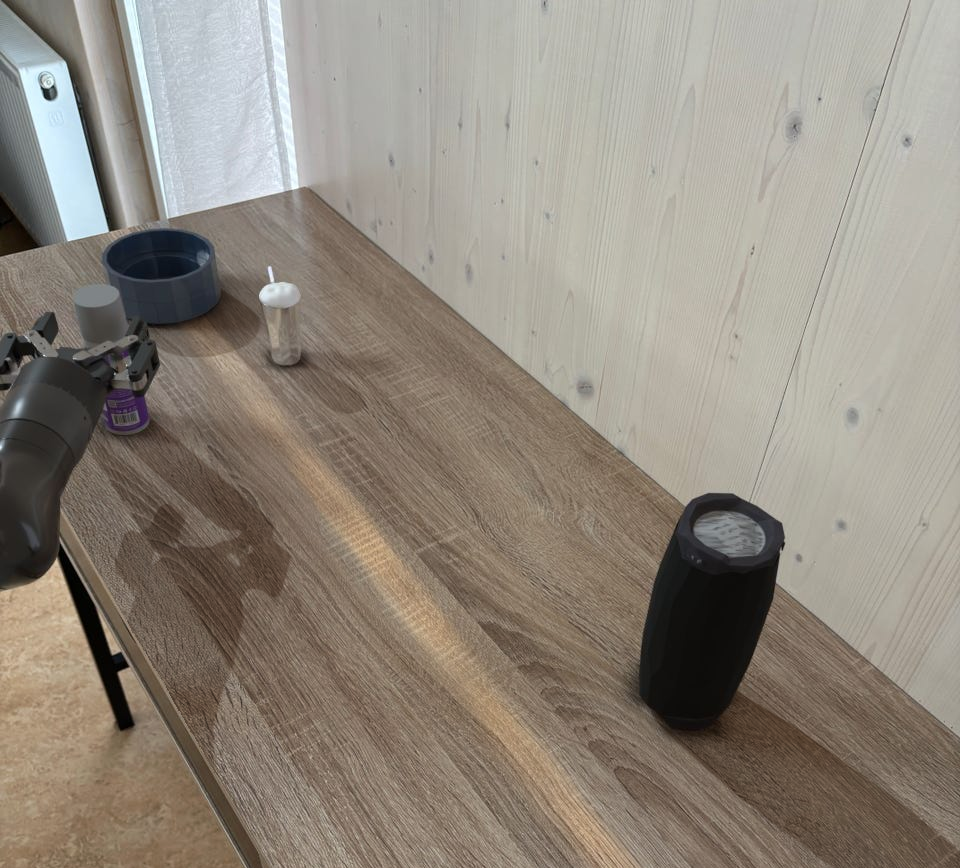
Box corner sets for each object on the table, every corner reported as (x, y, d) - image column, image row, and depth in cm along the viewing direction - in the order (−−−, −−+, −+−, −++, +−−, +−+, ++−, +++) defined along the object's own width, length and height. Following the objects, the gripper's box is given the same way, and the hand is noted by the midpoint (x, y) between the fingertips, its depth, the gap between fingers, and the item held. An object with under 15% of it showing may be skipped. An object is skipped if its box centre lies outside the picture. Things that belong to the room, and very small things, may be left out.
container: (158, 415, 114) (130, 288, 103) (135, 439, 111) (103, 312, 100) (120, 405, 115) (88, 279, 104) (96, 429, 112) (61, 301, 101)
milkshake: (296, 341, 125) (288, 262, 118) (311, 364, 122) (304, 285, 115) (259, 348, 124) (249, 269, 117) (274, 372, 121) (264, 293, 113)
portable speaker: (754, 698, 91) (818, 528, 76) (684, 755, 86) (738, 587, 72) (678, 641, 95) (726, 471, 80) (608, 693, 90) (645, 523, 76)
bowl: (112, 332, 125) (101, 286, 120) (112, 277, 133) (102, 231, 129) (225, 323, 127) (218, 277, 123) (218, 269, 136) (211, 224, 131)
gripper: (120, 388, 89) (162, 290, 100) (-49, 380, 89) (12, 283, 100) (137, 459, 95) (176, 358, 106) (-22, 451, 94) (33, 352, 105)
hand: (96, 322), depth 103 cm, fingers open, 8 cm apart
